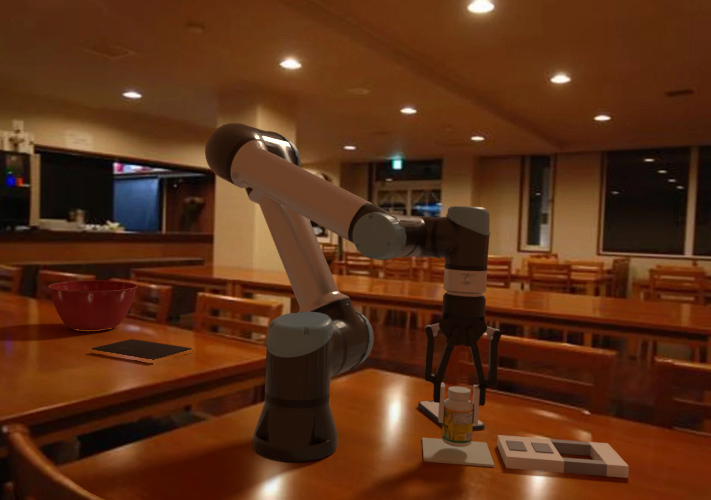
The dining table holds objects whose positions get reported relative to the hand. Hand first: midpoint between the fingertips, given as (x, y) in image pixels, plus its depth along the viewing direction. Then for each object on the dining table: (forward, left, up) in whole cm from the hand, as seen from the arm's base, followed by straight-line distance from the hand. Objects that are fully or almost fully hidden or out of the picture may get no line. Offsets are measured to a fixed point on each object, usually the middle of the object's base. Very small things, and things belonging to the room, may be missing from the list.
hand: (457, 421), depth 101 cm
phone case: (0, +19, -6) cm, 20 cm away
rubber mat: (0, 0, -6) cm, 6 cm away
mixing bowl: (-119, +85, -6) cm, 147 cm away
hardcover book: (-86, +55, -7) cm, 102 cm away
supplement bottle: (0, 0, -4) cm, 4 cm away
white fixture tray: (+18, 0, -6) cm, 19 cm away
